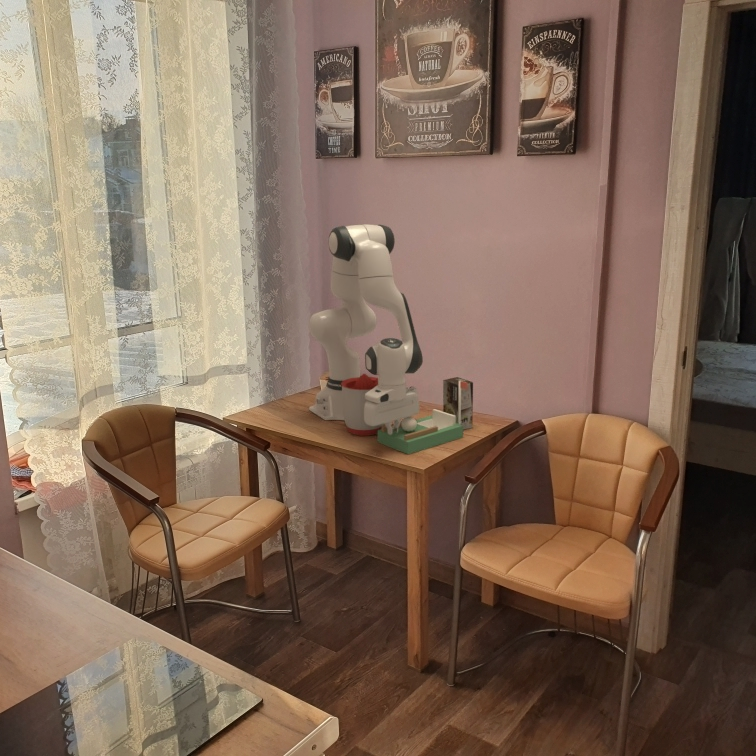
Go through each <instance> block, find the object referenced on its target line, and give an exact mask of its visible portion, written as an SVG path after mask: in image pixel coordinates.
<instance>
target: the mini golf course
mask: <svg viewBox="0 0 756 756" xmlns="http://www.w3.org/2000/svg"><path fill="white" fill-rule="evenodd" d="M461 388H463V389H466V390H467V383H466V382H463V381H459V401H458V424H457V423H456V416H455V415H452V414H448V413H445V412H443V410H439V409H435V408H434V409H432V414H431V415H428V416H425V417H420V418H418V419H415V420H416V422H417V426H416V428H415V430H413V431H411V432H407V431H405V430H404V429H403V428H402V426H401V423H400V425H399V427H398V433H395V434H391V435H390V434H388V428H387V427H386V426H385V425H384V426H383V427H382V429H381V430H377V431H378V434H377V443H378V442H379V444H382V445H384V446H386V447H388V448H391V449H394V450H397V451H399V452H401V453H404V454H407V455H411V454H414V453H417V452H421V451H424V450H427V449H430V448H434V447H436V446H440V445H443V444H446V443H448V442H449V443H450V442H452V441H455V440H459V439H462V438H463V437H464V430H463V425H461ZM401 422H402V420H401ZM393 425H394V423H392V424H391V427H393Z"/></svg>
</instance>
